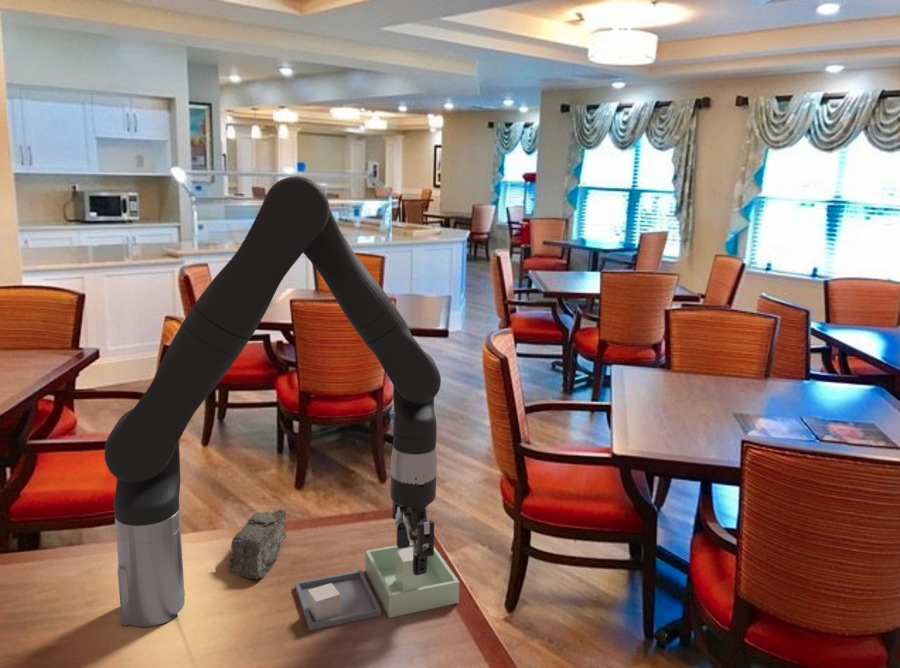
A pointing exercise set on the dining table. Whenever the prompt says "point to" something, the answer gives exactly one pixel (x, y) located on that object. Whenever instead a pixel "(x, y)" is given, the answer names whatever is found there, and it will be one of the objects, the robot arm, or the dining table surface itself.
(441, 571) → the green bin
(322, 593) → the smooth off-white cube
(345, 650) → the dining table surface
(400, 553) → the off-white rectangular block
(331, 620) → the slate tray
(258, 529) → the rock
